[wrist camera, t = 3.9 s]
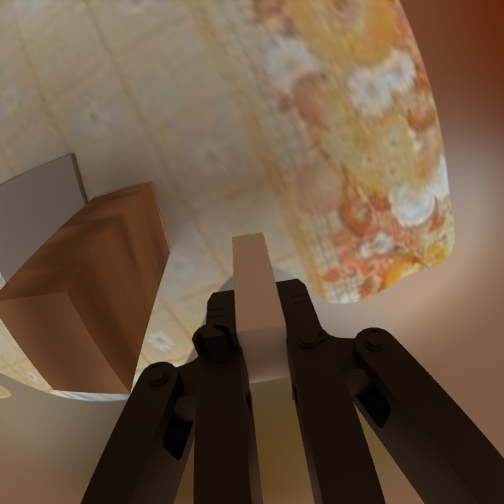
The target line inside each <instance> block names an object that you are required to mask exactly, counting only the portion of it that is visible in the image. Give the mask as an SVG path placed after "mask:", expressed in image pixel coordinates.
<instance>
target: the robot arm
mask: <svg viewBox="0 0 504 504" xmlns="http://www.w3.org/2000/svg"><path fill="white" fill-rule="evenodd" d="M232 243H233V268H234V290H229V291H222V292H216V293H213V294H212V295H211V297H210V298H209V300H208V302H207V316H206V318H207V319H206V324H205V325H203V326H202V327H200V328H198V330H197V331H196V332H195V333H194V335H193V337H192V341H193V343H194V346H195V348H196V351H197V353H198V357H197V358H196V359H195V360H193V361H192V362H189V363H187V364H184V365H182V366H179V367H174V366H173V365H172V364H171V363H168V362H156V363H153V364H151V365H149V366H148V367H146V368H145V369H144V370H143V372H142V373H141V375H140V377H139V379H138V381H137V383H136V385H135V387H134V389H133V391H132V393H131V395H130V397H129V399H128V401H127V403H126V405H125V407H124V409H123V411H122V413H121V415H120V417H119V420H118V421H117V423H116V426H115V428H114V430H113V432H112V434H111V436H110V439H109V441H108V443H107V445H106V447H105V449H104V451H103V454H102V456H101V459H100V460H99V462H98V465H97V467H96V469H95V471H94V474H93V476H92V478H91V480H90V483H89V485H88V487H87V490H86V492H85V494H84V497H83V499H82V502H81V504H173V503H174V500H175V497H176V494H177V491H178V487H179V484H180V481H181V478H182V475H183V472H184V469H185V465H186V462H187V459H188V456H189V453H190V450H191V446H192V443H193V440H194V437H195V445H194V504H263V499H262V490H261V481H260V472H259V462H258V453H257V444H256V434H255V425H254V414H253V405H252V395H251V392H250V388H249V383H255V382H262V381H268V380H275V379H280V378H286V377H291V381H292V395H293V400H294V401H295V406H296V411H297V416H298V421H299V425H300V431H301V436H302V441H303V446H304V450H305V456H306V461H307V466H308V471H309V476H310V481H311V487H312V492H313V497H314V503H315V504H386V503H385V500H384V496H383V493H382V489H381V486H380V483H379V479H378V476H377V473H376V470H375V466H374V463H373V460H372V457H371V454H370V451H369V448H368V444H367V441H366V438H365V435H364V433H363V429H362V426H361V423H360V420H359V418H358V415H357V412H356V409H355V406H354V404H355V405H356V407H357V408H358V409H359V411H360V412H361V414H362V415H363V416H364V418H365V419H366V421H367V422H368V424H369V425H370V427H371V428H372V429H373V431H374V432H375V434H376V435H377V436H378V438H379V439H380V441H381V442H382V443H383V445H384V446H385V448H386V449H387V451H388V452H389V453H390V455H391V456H392V457H393V459H394V461H395V462H396V464H397V465H398V466H399V468H400V469H401V471H402V472H403V473H404V475H405V476H406V478H407V479H408V480H409V482H410V483H411V485H412V486H413V488H414V489H415V490H416V492H417V493H418V494H419V496H420V498H421V499H422V500H423V502H424V503H425V504H504V458H503V457H502V456H501V454H500V453H499V452H498V451H497V450H496V448H495V447H494V446H493V445H492V444H491V443H490V441H489V440H488V439H487V438H486V437H485V435H484V434H483V433H482V432H481V431H480V430H479V429H478V427H477V426H476V425H475V424H474V423H473V422H472V420H471V419H470V418H469V417H468V416H467V415H466V414H465V413H464V412H463V410H462V409H461V408H460V407H459V406H458V405H457V404H456V402H455V401H454V400H453V399H452V398H451V397H450V396H449V395H448V394H447V393H446V392H445V390H444V389H443V388H442V387H441V386H440V385H439V384H438V383H437V382H436V381H435V380H434V379H433V377H432V376H431V375H430V374H429V373H428V372H427V371H426V370H425V369H424V368H423V367H422V366H421V365H420V364H419V363H418V362H417V360H416V359H415V358H414V357H413V356H412V355H411V354H410V353H409V352H408V351H407V350H406V349H405V348H404V347H403V346H402V345H401V344H400V343H399V342H398V341H397V340H396V339H395V338H394V337H393V336H392V335H391V334H390V333H389V332H387V331H386V330H384V329H381V328H367V329H364V330H362V331H361V332H359V333H358V334H357V336H356V338H338V337H334V336H331V335H329V334H328V333H327V332H326V331H325V330H323V329H322V327H321V325H320V323H319V320H318V317H317V314H316V312H315V309H314V306H313V304H312V302H311V299H310V296H309V294H308V291H307V288H306V286H305V284H304V283H302V282H301V281H300V280H299V279H292V280H287V281H280V282H275V279H274V275H273V271H272V267H271V263H270V259H269V255H268V251H267V247H266V243H265V239H264V235H263V232H261V233H255V234H249V235H242V236H236V237H232ZM353 402H354V403H353Z"/></svg>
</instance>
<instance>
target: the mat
mask: <svg viewBox="0 0 504 504" xmlns="http://www.w3.org/2000/svg"><path fill="white" fill-rule="evenodd" d="M87 203H88V202H87V199H86V195H85V192H84V189H83V185H82V182H81V178H80V175H79V171H78V168H77V164H76V160H75V156H74V153H72V154H69V155H66V156H64V157H61V158H59V159H56V160H54V161H51V162H49V163H47V164H44V165H42V166H40V167H37V168H35V169H33V170H30V171H28V172H26V173H24V174H22V175H20V176H18V177H15V178H13V179H11V180H9V181H7V182H5V183H3V184H1V185H0V271H1V273H2V275H3V277H4V279H5V281H6V283H7V282H8V281H9V280H10V278H11V277H12V276H13V275H14V274H15V273H16V272H17V271H18V270H19V268H20V267H21V266H22V265H23V264H24V263H25V262H26V261H27V260H28V259H29V258H30V257H31V256H32V255H33V254H34V253H35V252H36V251H37V250H38V248H39V247H40V246H41V245H42V244H43V243H45V242H46V241H47V240H48V239H49V238H50V237H51V236H52V235H53V234H54V233H55V232H56V231H57V230H58V229H59V228H60V227H61V226H62V225H63V224H64V223H66V222H67V221H68V220H69V219H70V218H71V217H72V216H73V215H74V214H76V213H77V212H78V211H79V210H80V209H81V208H82V207H84V206H85V205H86V204H87Z"/></svg>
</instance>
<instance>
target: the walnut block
mask: <svg viewBox="0 0 504 504" xmlns="http://www.w3.org/2000/svg"><path fill="white" fill-rule="evenodd" d="M170 251H171V249H170V246H169V242H168V239H167V236H166V232H165V229H164V225H163V221H162V218H161V214H160V211H159V207H158V203H157V199H156V195H155V192H154V188H153V184H152V182H147V183H143V184H139V185H135V186H131V187H127V188H123V189H119V190H115V191H111V192H108V193H104V194H100V195H97V196H95V197H94V198H93V199H92V200H91V201H89V202H88V203H87V204H86V205H85V206H84V207H82V208H81V209H80V210H79V211H78V212H77V213H76V214H74V215H73V216H72V217H71V218H70V219H69V220H68V221H67V222H66V223H64V224H63V225H62V226H61V227H60V228H59V229H58V230H57V231H56V232H55V233H54V234H53V235H52V236H51V237H50V238H49V239H48V240H47V241H46V242H45V243H43V244H42V245H41V246H40V247H39V248H38V250H37V251H36V252H35V253H34V254H33V255H32V256H31V257H30V258H29V259H28V260H27V261H26V262H25V263H24V264H23V265H22V266H21V267H20V268H19V270H18V271H17V272H16V273H15V274H14V275H13V276H12V277H11V278H10V280H9V281H8V282H7V283H6V284H5V285H4V287H3V288H2V289H1V290H0V318H1V320H2V321H3V323H4V324H5V326H6V327H7V329H8V330H9V332H10V333H11V335H12V336H13V338H14V339H15V341H16V342H17V344H18V345H19V346H20V348H21V349H22V351H23V352H24V353H25V355H26V356H27V357H28V359H29V360H30V361H31V363H32V364H33V365H34V367H35V368H36V369H37V370H38V372H39V373H40V374H41V375H42V376H43V378H44V379H45V380H46V381H47V382H48V384H49V385H50V386H51V387H52V388H53V389H54V390H60V391H72V392H87V393H110V394H130V392H131V388H132V384H133V379H134V375H135V371H136V367H137V363H138V359H139V355H140V351H141V348H142V344H143V340H144V336H145V333H146V329H147V326H148V322H149V318H150V315H151V312H152V308H153V305H154V301H155V298H156V295H157V292H158V288H159V285H160V282H161V279H162V276H163V272H164V269H165V266H166V263H167V260H168V257H169V254H170Z"/></svg>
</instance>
